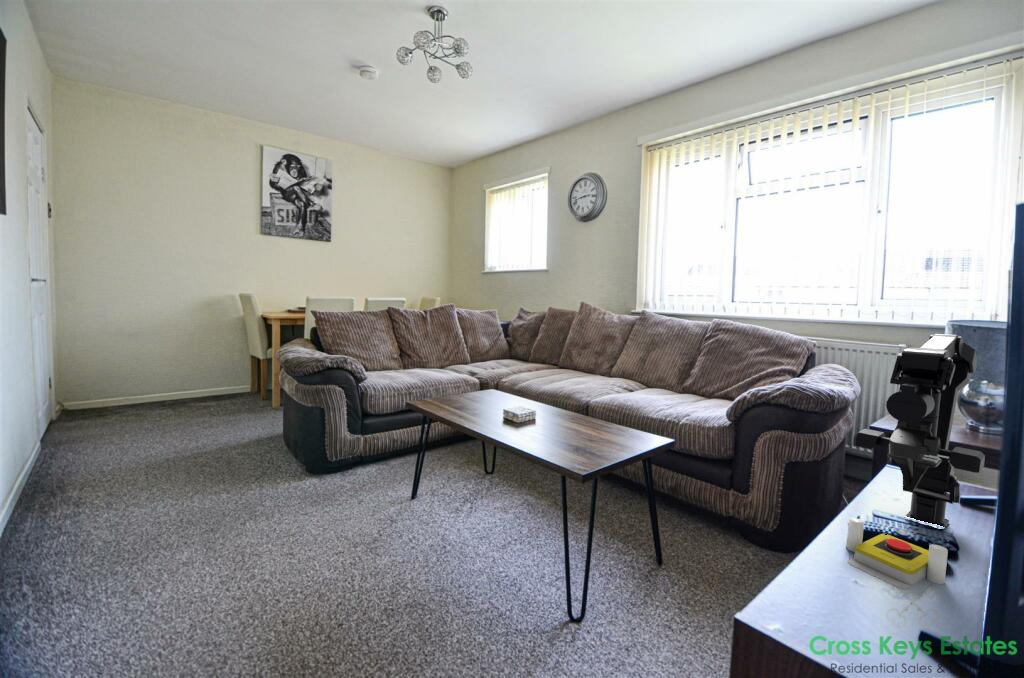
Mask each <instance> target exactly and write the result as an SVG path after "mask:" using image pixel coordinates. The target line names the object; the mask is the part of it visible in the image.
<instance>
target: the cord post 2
mask: <svg viewBox="0 0 1024 678" xmlns="http://www.w3.org/2000/svg"><path fill="white" fill-rule="evenodd" d="M928 546H929V547H928V550H929V555H928V566H927V577H926V578H925V579H927V580H928V581H930V582H932V583H935V584H937V585H944V584H945V583H946V572H947V562H948V553H949V550H948V549H947V548H946V547H944V546H943V545H939V544H929V545H928Z"/></svg>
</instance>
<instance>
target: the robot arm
mask: <svg viewBox="0 0 1024 678" xmlns="http://www.w3.org/2000/svg"><path fill="white" fill-rule="evenodd" d="M977 365H978V358H977V351H976V349H975V348H973V347H971V346H970V345H968V344H967V343H966V342H964V339H963V336H960V335H958V334H946V333H945V334H944V333H943V334H942V333H935V334H930V336H929V339H928V340H927V341H926V342H925V343H924V344H922V346H920V347H907V348H904V349H903V350H902V352H901V353H898V354H897V357H896V360H895V364H894V366H893V370H892V374H891V377H890V380H889V384H891V385H892V384H893V385H899V389H898V391H896V392H894V393H892V394H891V395H890V396H888V398H887V400H886V402H885V408H886V411H887V413H888V414H889V415H890V416H891V417H892V418H893V419H895V420H896V421H897V424H896V426H895V427H894V430H893V432H892V433H891V436H890V437H886V433H885V432H884V431H879V430H874V429H870V428H864V429H862V430H860V431H858V432H856V433H855V434H854V436H853V440H852V441H853V443H852V444H853V446H855V447H859V448H865V449H868V450H871V449H874V448H875V447H877V446H880V447H883V448H884V447H885V448H888V449H889V450H888V453H887V457H888V458H892V459H893V460H894V462H896V463H897V465H898V467H899V469H900V472H901V474H902V491H903V492H909V493H911V502H910V510H909V511H908V512H907V514H906V515H905V516H907V517H910V518H914V519H916V520H920V521H924V522H928V523H932V524H937V525H940V526H943V527H945V526H946V527H947V526H948V525H949V523H950V520H949V519H946V509H947V503H948V504H951V505H953V504H960V500H961V484H960V483H959V482H958V477H957V476H956V475H955V469H958V470H961V471H965V472H970V473H976V474H977V473H979V474H980V472H981V471H982V470H983V468H984V467H985V459H986V458H985V457H986V455H985V454H984V453H983V452H982V451H980V450H975V449H970V448H964V447H960V446H959V447H958V446H955V447H954V448H953V449H952V450H949V445H950V441H951V433H952V428H953V422H954V417H955V411H956V406H957V400H958V394H959V391H961V390H962V389H963V388H964V387H966V386H967V385H968V384H969V383H970V382H971V377H972V374H976V370H977ZM946 527H945V528H946Z"/></svg>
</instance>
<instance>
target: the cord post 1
mask: <svg viewBox="0 0 1024 678" xmlns="http://www.w3.org/2000/svg"><path fill="white" fill-rule="evenodd" d="M864 528H865V522H864V521H863V520H862V519H860V518H856V517H849V518H848V527H847V535H846V536H847V537H846V545H845V548H846V549H847V550H848V551H849V552H850V551H851V552H852V553H855V549H856V546H857V545H859V544H861V543H863V538H864V531H865V529H864Z"/></svg>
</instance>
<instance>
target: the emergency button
mask: <svg viewBox="0 0 1024 678" xmlns="http://www.w3.org/2000/svg"><path fill="white" fill-rule="evenodd" d="M885 534H886V533H880V534H878V535H876V536H874V537H871V538H869V539H868V540H865V541H862V543H861V544H859V545H857V546H856V549H855V552H854V555H853V557H852V558H850V559H848V561H847V563H848V564H849V565H850V566H852V567H853V568H855V569H858V570H860V571H863V572H865V573H867V574H869V575H871V576H873V577H875V578H878V579H880V580H882V581H883V582H886V583H888V584H890V585H892V586H894V587H896V588H899V589H901V590H909V589H910V588H912V587H914V586H915V585H917V584H919V583H920V582H922V581H924V580H925V579H927V578H926V577H927V566H928V555H929V549H925V548H923V547H921V546H918V545H916V544H913V543H910V542H908V541H905V540H903V539H900V538H897V537H895V536H892V535H890V534H887V535H885Z"/></svg>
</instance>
